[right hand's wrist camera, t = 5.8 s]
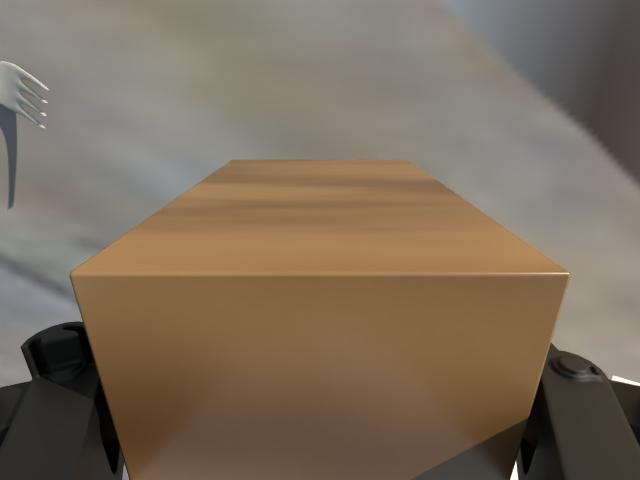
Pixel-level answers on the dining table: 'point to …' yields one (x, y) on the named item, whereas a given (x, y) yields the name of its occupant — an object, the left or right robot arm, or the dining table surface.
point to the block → (319, 328)
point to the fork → (18, 90)
